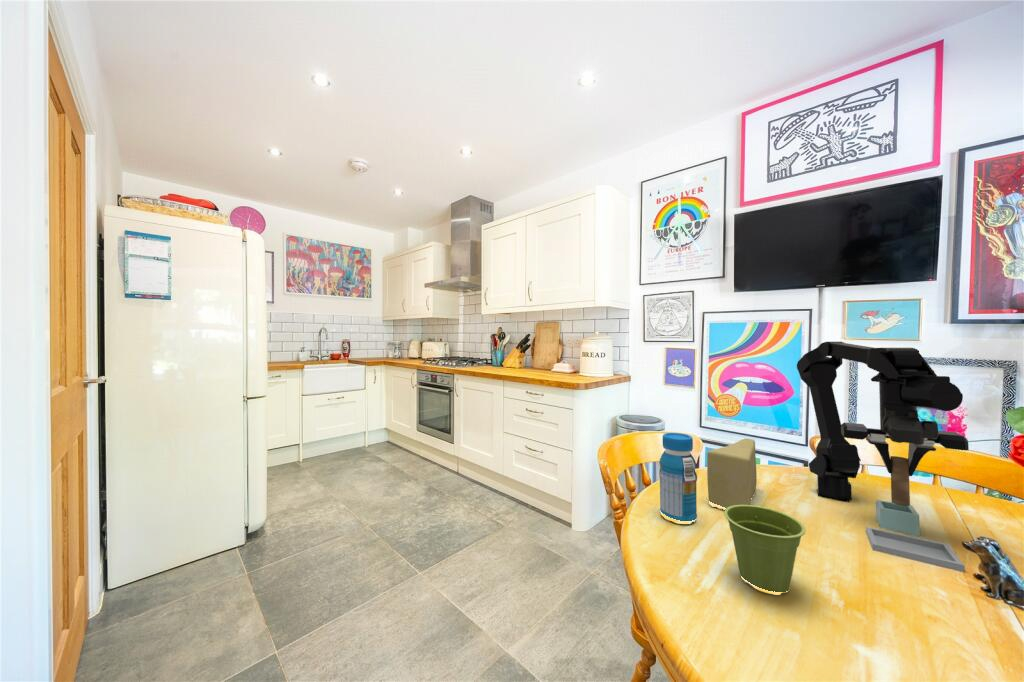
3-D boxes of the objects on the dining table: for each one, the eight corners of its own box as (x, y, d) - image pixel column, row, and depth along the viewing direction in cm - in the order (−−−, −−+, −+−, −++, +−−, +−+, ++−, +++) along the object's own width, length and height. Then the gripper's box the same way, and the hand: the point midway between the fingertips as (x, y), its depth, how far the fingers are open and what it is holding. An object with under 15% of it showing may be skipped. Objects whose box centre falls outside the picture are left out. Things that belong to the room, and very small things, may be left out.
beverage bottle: (659, 522, 87) (658, 438, 87) (659, 507, 94) (658, 430, 95) (699, 529, 83) (698, 441, 84) (695, 513, 91) (695, 433, 91)
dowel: (893, 504, 80) (891, 458, 81) (890, 499, 83) (888, 455, 83) (911, 507, 79) (910, 460, 79) (908, 502, 81) (906, 457, 81)
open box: (880, 530, 82) (880, 508, 82) (875, 520, 87) (875, 499, 87) (919, 538, 79) (919, 515, 79) (912, 527, 84) (912, 505, 84)
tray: (872, 552, 74) (872, 543, 74) (865, 534, 81) (865, 526, 81) (965, 575, 66) (964, 565, 66) (947, 553, 73) (947, 544, 73)
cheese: (734, 484, 110) (733, 434, 110) (772, 494, 103) (772, 440, 103) (706, 506, 95) (705, 448, 96) (749, 519, 88) (748, 457, 88)
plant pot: (712, 562, 71) (711, 504, 71) (774, 563, 70) (774, 504, 70) (750, 606, 59) (749, 536, 59) (825, 607, 58) (824, 536, 58)
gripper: (846, 404, 80) (848, 475, 80) (979, 413, 69) (981, 496, 69) (840, 398, 89) (841, 463, 89) (956, 405, 78) (959, 479, 78)
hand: (899, 474), depth 81 cm, fingers closed on dowel, 3 cm apart
